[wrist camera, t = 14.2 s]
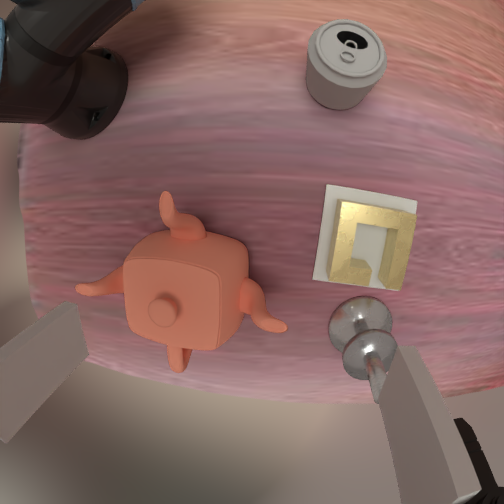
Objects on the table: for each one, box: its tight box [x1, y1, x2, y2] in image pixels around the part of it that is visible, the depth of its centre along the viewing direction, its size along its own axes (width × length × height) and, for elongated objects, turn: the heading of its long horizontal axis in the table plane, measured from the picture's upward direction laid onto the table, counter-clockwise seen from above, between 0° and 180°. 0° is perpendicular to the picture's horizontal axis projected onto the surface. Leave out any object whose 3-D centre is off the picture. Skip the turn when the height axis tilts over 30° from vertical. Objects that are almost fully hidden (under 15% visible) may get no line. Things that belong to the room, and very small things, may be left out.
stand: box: [329, 296, 398, 404], centre depth 31 cm, size 9×9×15 cm
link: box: [326, 199, 417, 290], centre depth 32 cm, size 9×9×4 cm
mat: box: [312, 184, 417, 291], centre depth 35 cm, size 12×12×1 cm
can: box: [306, 19, 387, 110], centre depth 25 cm, size 8×8×12 cm
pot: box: [75, 191, 288, 373], centre depth 34 cm, size 18×17×12 cm
